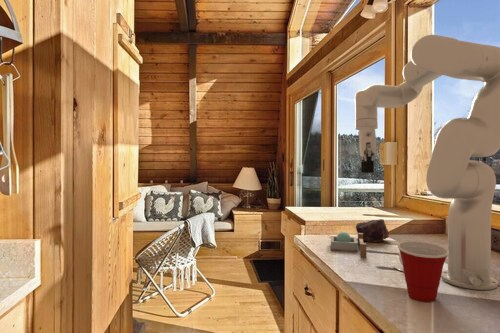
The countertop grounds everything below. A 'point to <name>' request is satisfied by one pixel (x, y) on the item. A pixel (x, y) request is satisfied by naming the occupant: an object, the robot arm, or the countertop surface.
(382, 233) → the rock
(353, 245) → the dish
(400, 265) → the teacup
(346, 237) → the ball
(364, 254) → the rail
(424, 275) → the plastic cup
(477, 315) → the countertop surface
